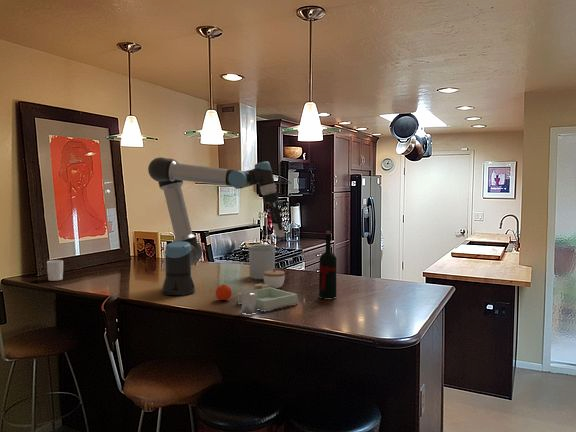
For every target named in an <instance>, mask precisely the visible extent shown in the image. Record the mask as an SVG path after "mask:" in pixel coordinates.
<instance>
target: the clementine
mask: <svg viewBox="0 0 576 432" xmlns="http://www.w3.org/2000/svg"><path fill="white" fill-rule="evenodd" d="M232 294H233V293H232V289H231V287H230V286H229V285H227V284H220V285H219V286H217V288H216V289H215V296H216V298H217V300H219V301H221V300H226V301H228V300H229V299H230V298H231V296H232Z"/></svg>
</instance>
